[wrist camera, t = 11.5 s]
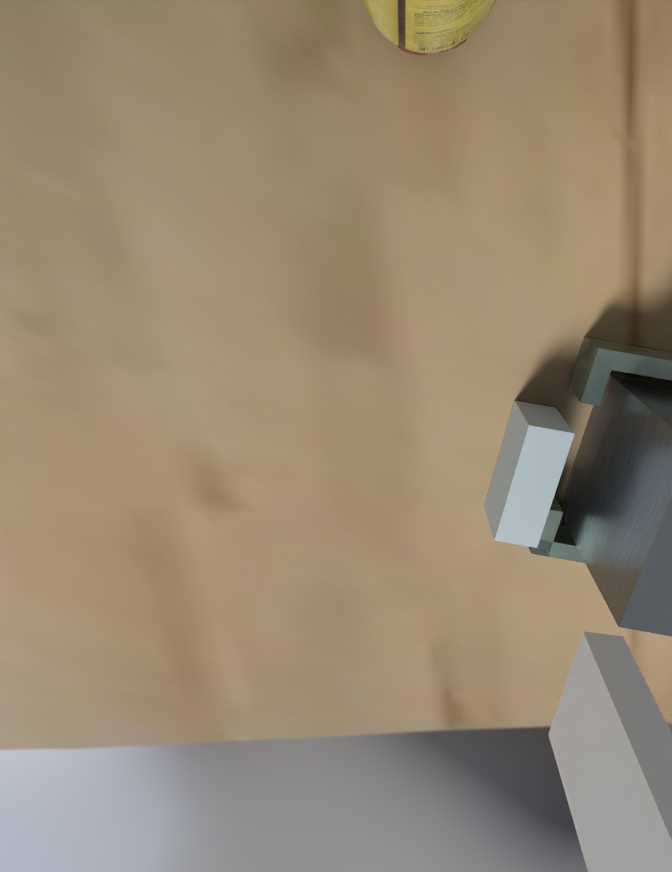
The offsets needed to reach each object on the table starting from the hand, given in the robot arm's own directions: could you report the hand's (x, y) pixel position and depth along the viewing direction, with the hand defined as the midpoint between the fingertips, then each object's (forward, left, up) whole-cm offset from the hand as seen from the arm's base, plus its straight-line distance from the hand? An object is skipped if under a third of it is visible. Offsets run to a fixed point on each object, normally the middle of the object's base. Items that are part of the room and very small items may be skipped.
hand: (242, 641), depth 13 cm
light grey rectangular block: (+5, +12, -25) cm, 28 cm away
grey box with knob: (+3, +18, -25) cm, 31 cm away
